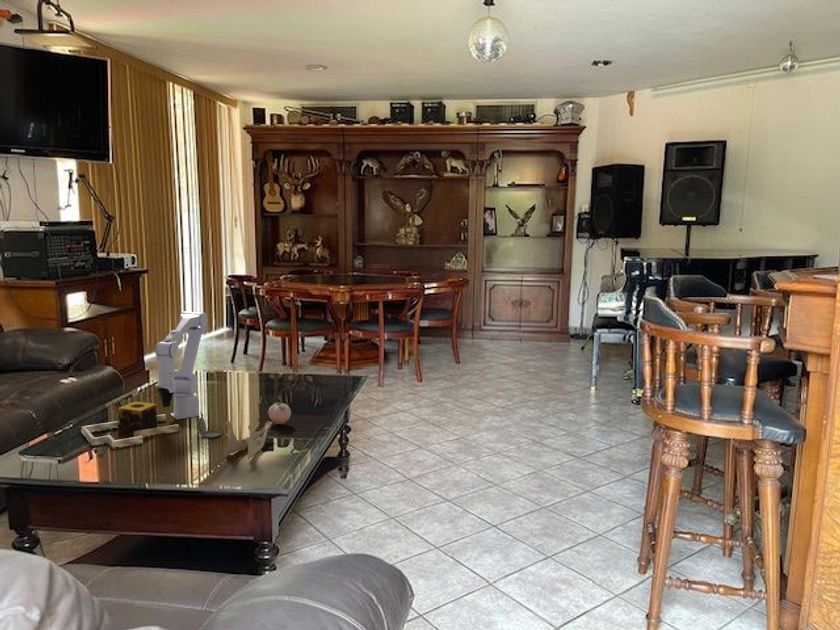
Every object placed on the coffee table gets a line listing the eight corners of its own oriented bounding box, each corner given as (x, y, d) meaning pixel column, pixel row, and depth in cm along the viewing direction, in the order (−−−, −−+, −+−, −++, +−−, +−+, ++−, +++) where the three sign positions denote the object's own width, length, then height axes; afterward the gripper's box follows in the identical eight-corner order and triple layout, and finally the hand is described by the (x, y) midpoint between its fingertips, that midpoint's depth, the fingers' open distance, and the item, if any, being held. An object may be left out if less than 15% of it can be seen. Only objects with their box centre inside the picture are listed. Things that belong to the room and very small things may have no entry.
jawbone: (250, 462, 206) (248, 422, 205) (224, 461, 209) (222, 421, 207) (283, 440, 230) (281, 405, 229) (259, 439, 233) (257, 404, 232)
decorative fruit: (295, 425, 247) (295, 402, 245) (277, 429, 241) (278, 405, 239) (281, 420, 253) (282, 397, 252) (264, 424, 247) (265, 400, 246)
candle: (141, 437, 225) (140, 411, 224) (117, 433, 227) (116, 408, 225) (158, 428, 235) (158, 403, 233) (135, 425, 237) (134, 400, 235)
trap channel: (159, 415, 250) (159, 410, 249) (184, 436, 228) (184, 429, 228) (77, 428, 230) (77, 421, 230) (96, 451, 209) (96, 444, 208)
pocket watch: (224, 434, 232) (224, 409, 231) (209, 441, 224) (209, 415, 223) (206, 431, 235) (206, 406, 233) (191, 437, 227) (191, 411, 225)
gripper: (149, 369, 238) (149, 403, 239) (161, 377, 227) (161, 412, 228) (168, 367, 242) (168, 400, 244) (180, 375, 231) (180, 409, 233)
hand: (166, 406), depth 236 cm, fingers closed
